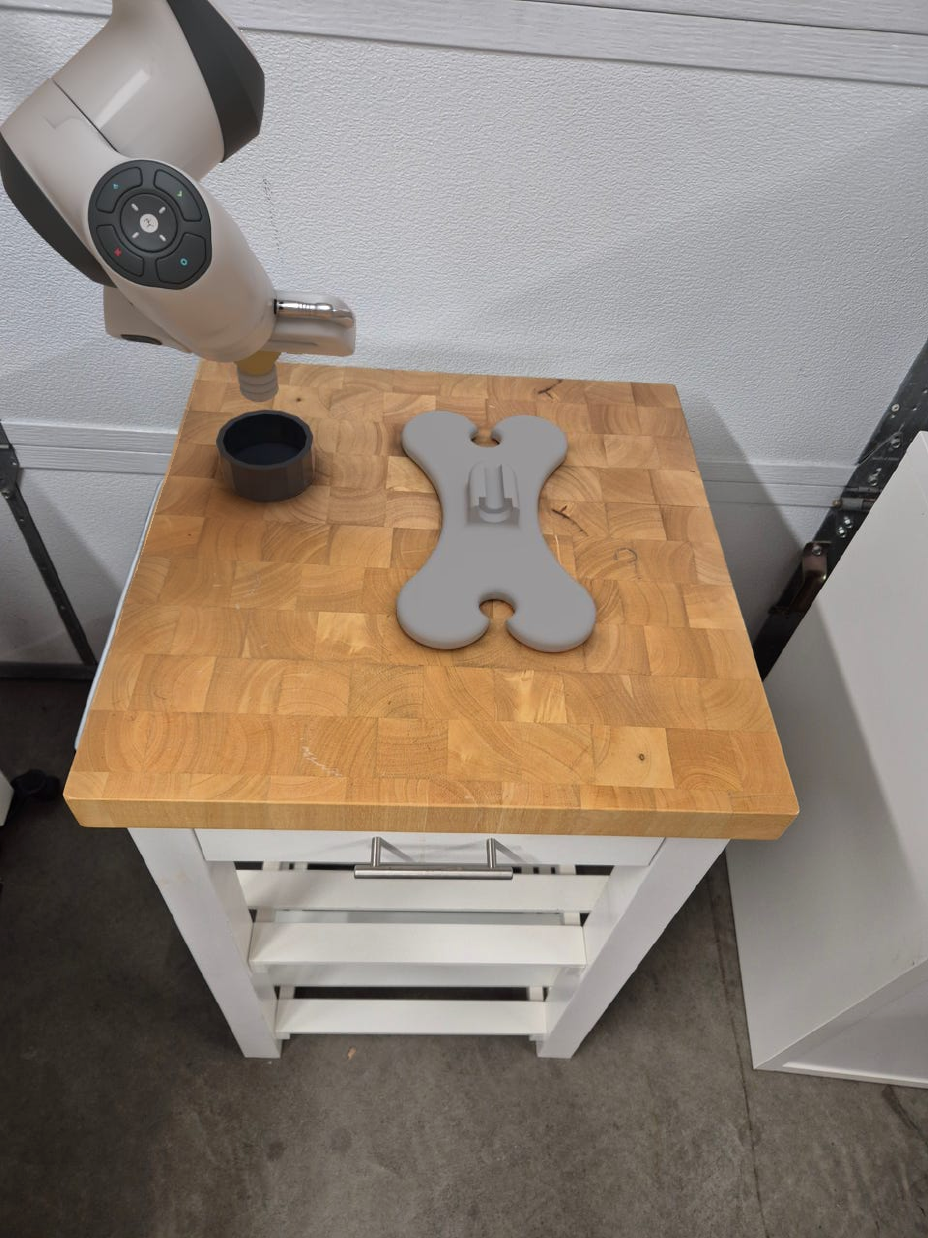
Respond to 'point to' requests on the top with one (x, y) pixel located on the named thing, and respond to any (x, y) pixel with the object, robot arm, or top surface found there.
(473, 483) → the holder
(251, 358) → the light bulb
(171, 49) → the robot arm
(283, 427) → the socket
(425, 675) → the top surface
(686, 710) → the top surface
